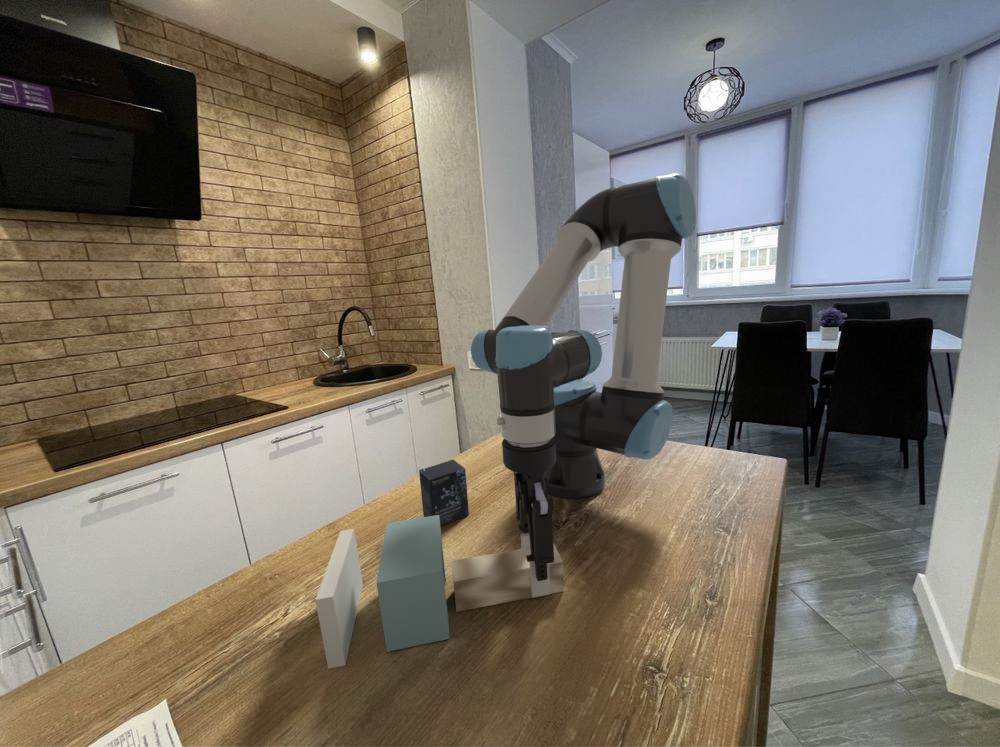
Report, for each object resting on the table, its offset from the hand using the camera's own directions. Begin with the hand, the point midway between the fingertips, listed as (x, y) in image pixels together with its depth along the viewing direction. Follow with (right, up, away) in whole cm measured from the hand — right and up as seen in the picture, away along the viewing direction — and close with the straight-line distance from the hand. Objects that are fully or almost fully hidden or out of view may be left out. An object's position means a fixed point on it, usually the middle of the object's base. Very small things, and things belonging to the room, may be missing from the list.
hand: (535, 581), depth 60 cm
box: (-16, +2, +20) cm, 26 cm away
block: (-17, -2, -3) cm, 18 cm away
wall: (-27, -3, -4) cm, 28 cm away
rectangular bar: (-4, -1, -1) cm, 4 cm away
